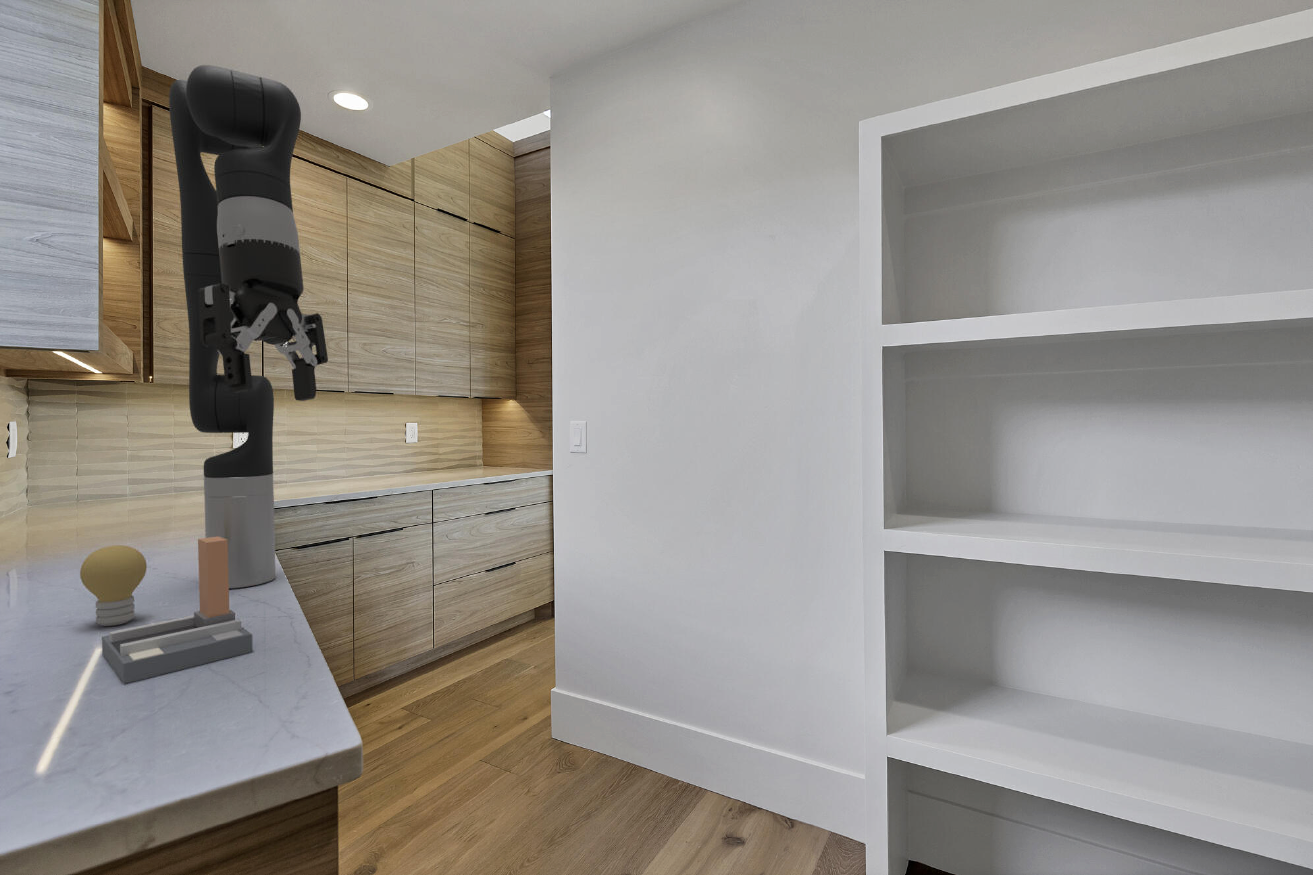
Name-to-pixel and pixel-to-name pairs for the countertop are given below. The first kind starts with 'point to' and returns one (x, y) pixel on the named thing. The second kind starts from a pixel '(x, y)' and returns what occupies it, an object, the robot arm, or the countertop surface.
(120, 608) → the light bulb
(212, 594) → the lever
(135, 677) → the switch panel
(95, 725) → the countertop surface
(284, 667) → the countertop surface
